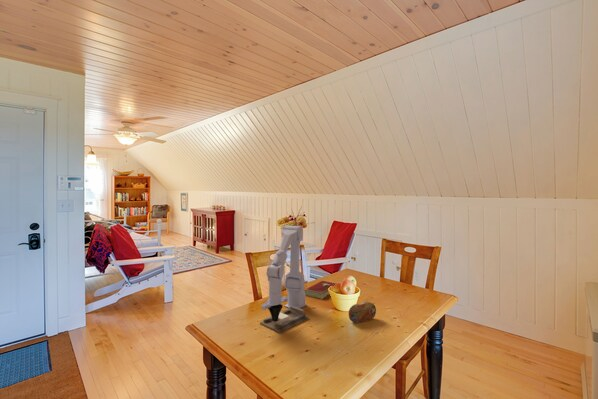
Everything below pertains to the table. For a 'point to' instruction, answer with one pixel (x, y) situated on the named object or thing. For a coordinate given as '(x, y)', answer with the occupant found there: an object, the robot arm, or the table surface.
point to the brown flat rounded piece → (362, 312)
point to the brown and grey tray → (295, 318)
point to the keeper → (282, 318)
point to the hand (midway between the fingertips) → (274, 320)
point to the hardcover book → (319, 289)
